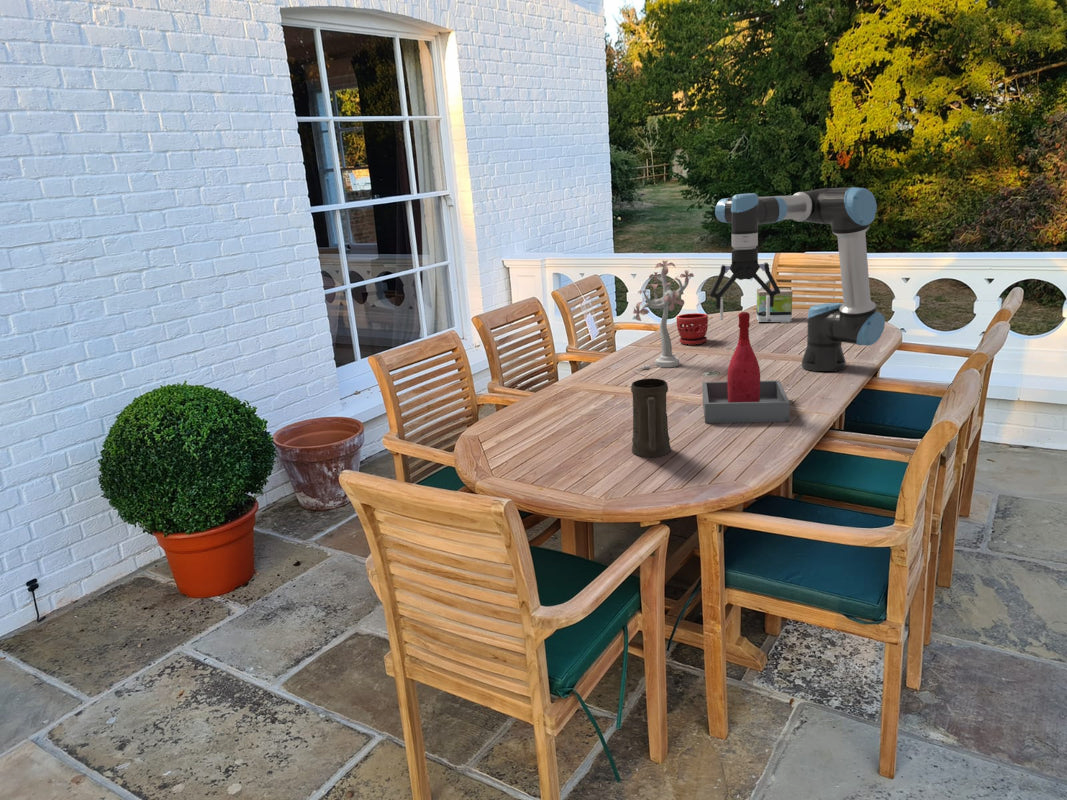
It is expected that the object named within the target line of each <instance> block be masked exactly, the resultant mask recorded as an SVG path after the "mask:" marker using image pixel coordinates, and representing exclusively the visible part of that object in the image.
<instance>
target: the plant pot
mask: <svg viewBox="0 0 1067 800" xmlns="http://www.w3.org/2000/svg"><path fill="white" fill-rule="evenodd" d="M708 322H709V316H708V314H707V313H698V312H697V313H696V312H695V313H694V312H693V313H684V314H679V315H677V316H676V329H677V332H678V335H679V336H680V337H679V342H680V343H681V344H683V345H687V344H688V345H689V346H690V345H691V346H692V345H693V346H694V345H695V346H696V344H697V345H702V344H704V343H705V342H706V341H707V340H708V337H707V336H706V334H707V332H708V329H709V328H708V325H709V323H708Z"/></svg>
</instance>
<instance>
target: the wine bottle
mask: <svg viewBox="0 0 1067 800" xmlns="http://www.w3.org/2000/svg"><path fill="white" fill-rule="evenodd" d="M750 316H751V315H750V312H747V311H742V312H739V313H738V328H739V335H738V341H737V346H736V348H735V350H734V352H733V354H732V357H731V359H730V360H729V364H728V368H727V385H728V402H760V381H761V369H760V365H759V362H758V359H757V356H756V354H755V352H754V349H753V348H752V345H751V341H750V336H749V335H750V333H749V332H750V326H751V324H750Z"/></svg>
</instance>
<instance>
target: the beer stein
mask: <svg viewBox="0 0 1067 800" xmlns="http://www.w3.org/2000/svg"><path fill="white" fill-rule="evenodd" d="M630 392H631V393H632V438H631V441H632V442H631V443H632V445H631V453H633V454H634V455H636V456H638V457H644V458H657V457H662V456H666V455H668V454H670V452H671V450H672V448H671V444H670V439H671V438H670V435H669V425H668V423H669V422H668V414H667V393H668V392H669V387H668V382H666V380H664V379H660V378H642V379H641V378H640V379H637V380H634V381H633V382H632V383H631V388H630Z"/></svg>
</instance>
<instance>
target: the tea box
mask: <svg viewBox="0 0 1067 800" xmlns="http://www.w3.org/2000/svg"><path fill="white" fill-rule="evenodd" d="M778 288H779V287H778ZM770 289H771V291H773V290H774V288H770ZM779 290H780V293H779V294H776V295H774V305H773V307H770V318H767V317H766V295H769V294H768V293H767V292H766V291H765V289H764V288H757V289H756V314H755V318H757V319H756V321H757V320H758V321H757V322H781V323H787V322H790V321H791V322H792V320H793V319H792V315H793V290H792V289H791V288H790V287H789V288H788V287H786V288H785V287H783V288H782V287H781V288H779Z"/></svg>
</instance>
